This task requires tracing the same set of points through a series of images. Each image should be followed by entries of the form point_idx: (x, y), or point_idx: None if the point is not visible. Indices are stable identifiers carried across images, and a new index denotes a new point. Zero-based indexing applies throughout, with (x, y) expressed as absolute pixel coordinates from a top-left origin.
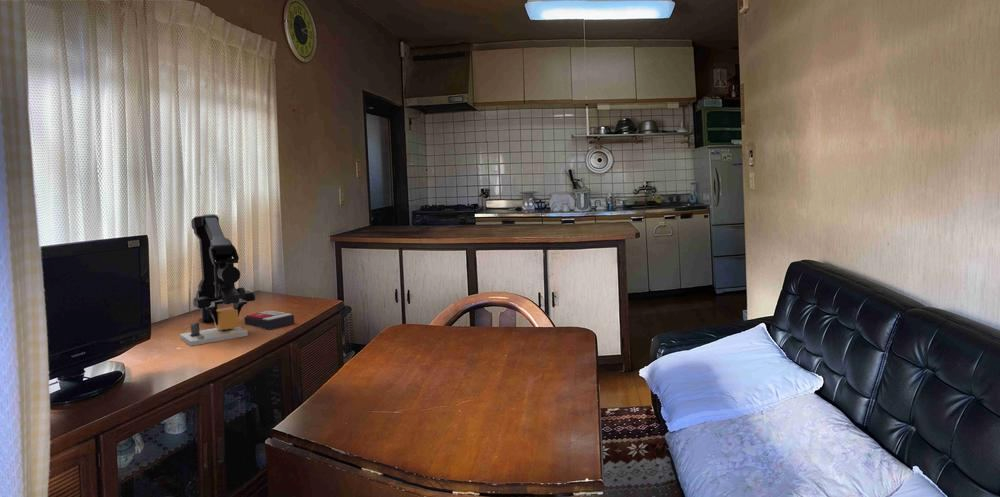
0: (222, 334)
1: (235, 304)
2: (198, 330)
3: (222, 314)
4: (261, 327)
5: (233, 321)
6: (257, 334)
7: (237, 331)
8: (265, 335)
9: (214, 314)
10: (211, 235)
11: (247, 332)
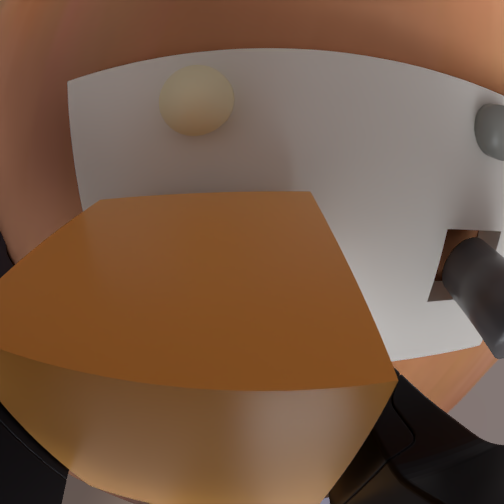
0: (312, 103)
1: (12, 482)
2: (486, 262)
3: (295, 333)
4: (4, 248)
5: (113, 227)
6: (34, 85)
7: (138, 128)
8: (14, 35)
9: (412, 406)
10: None
11: (74, 81)
